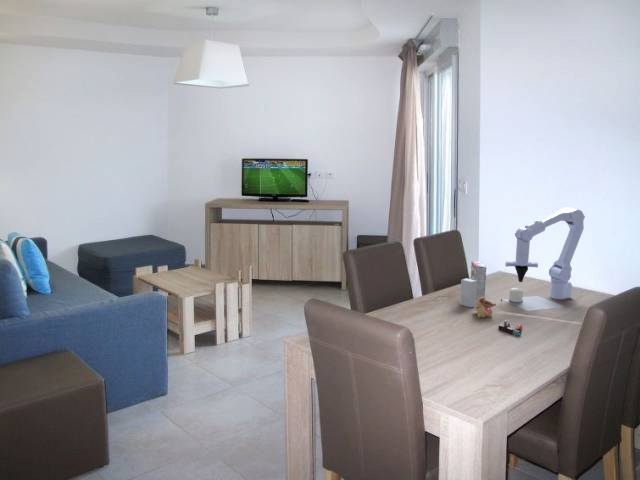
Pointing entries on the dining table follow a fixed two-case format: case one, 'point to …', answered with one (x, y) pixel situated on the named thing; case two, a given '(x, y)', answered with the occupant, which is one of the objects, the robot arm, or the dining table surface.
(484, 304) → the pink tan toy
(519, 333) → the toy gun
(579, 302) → the dining table surface
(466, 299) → the skincare box
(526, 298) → the board
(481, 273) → the candy bar box
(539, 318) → the dining table surface
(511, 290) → the knob
